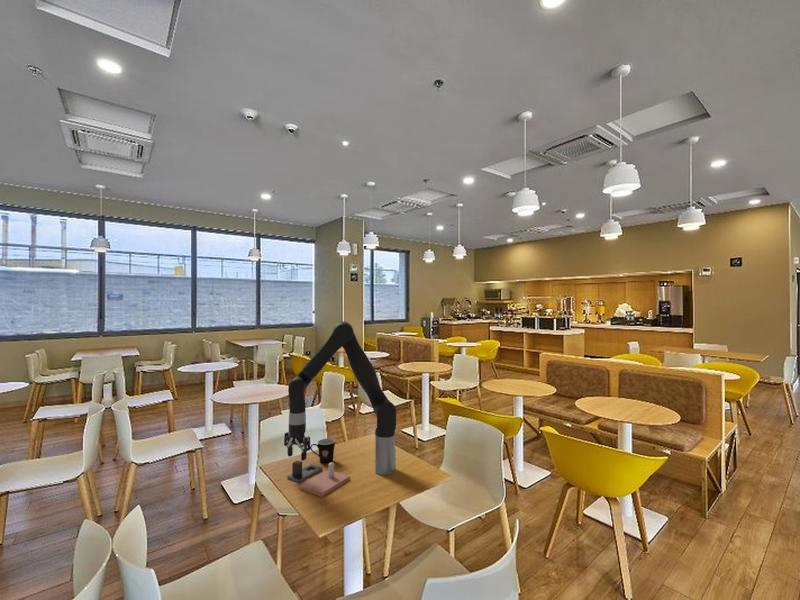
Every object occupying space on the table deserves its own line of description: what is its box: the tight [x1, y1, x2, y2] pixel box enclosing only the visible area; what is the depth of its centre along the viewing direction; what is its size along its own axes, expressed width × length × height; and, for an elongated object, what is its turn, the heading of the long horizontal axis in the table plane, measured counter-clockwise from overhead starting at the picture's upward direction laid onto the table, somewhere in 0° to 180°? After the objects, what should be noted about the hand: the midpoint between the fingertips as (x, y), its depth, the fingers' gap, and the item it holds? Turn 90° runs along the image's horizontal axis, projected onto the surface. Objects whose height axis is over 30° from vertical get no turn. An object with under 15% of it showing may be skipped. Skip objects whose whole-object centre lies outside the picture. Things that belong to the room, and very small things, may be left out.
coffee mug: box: [310, 438, 336, 465], centre depth 186 cm, size 12×9×10 cm
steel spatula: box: [286, 460, 323, 483], centre depth 171 cm, size 15×7×7 cm, turn 149°
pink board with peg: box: [298, 462, 351, 498], centre depth 162 cm, size 18×13×8 cm
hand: (296, 457), depth 167 cm, fingers open, 8 cm apart
